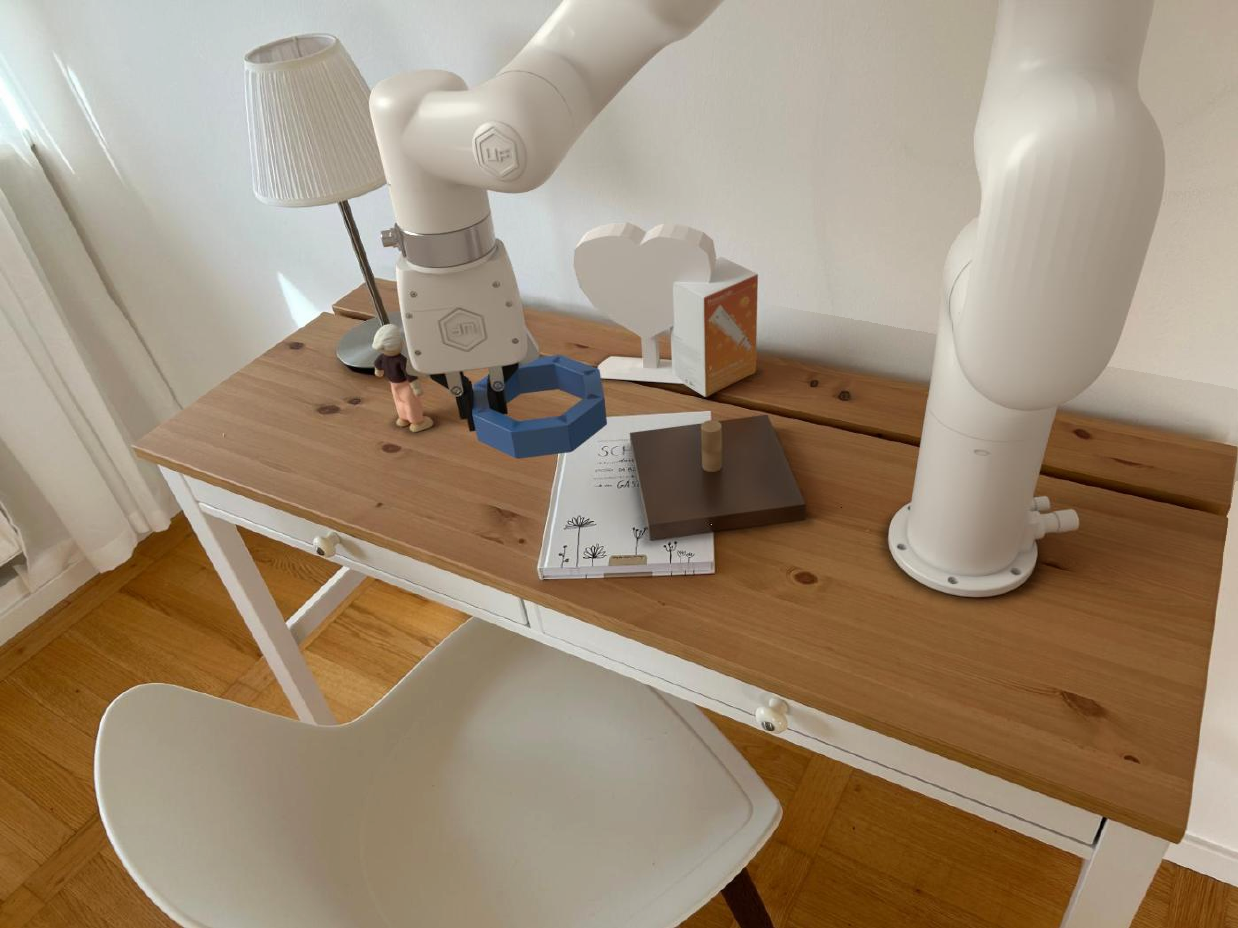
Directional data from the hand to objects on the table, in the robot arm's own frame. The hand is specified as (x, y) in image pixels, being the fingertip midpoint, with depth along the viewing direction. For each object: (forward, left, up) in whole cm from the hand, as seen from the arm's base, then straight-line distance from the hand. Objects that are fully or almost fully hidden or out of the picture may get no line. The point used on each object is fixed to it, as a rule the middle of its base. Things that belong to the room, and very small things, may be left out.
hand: (485, 420), depth 84 cm
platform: (-21, 0, -11) cm, 24 cm away
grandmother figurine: (+11, -18, -11) cm, 24 cm away
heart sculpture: (-18, -22, -11) cm, 31 cm away
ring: (-5, 0, -1) cm, 5 cm away
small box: (-25, -19, -11) cm, 34 cm away
